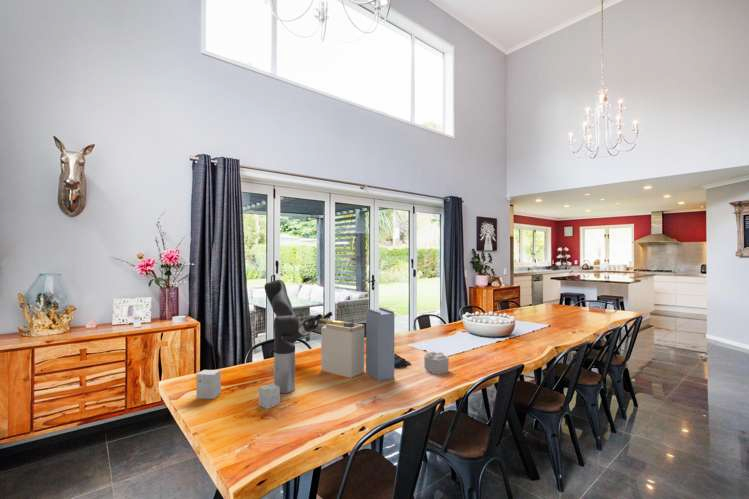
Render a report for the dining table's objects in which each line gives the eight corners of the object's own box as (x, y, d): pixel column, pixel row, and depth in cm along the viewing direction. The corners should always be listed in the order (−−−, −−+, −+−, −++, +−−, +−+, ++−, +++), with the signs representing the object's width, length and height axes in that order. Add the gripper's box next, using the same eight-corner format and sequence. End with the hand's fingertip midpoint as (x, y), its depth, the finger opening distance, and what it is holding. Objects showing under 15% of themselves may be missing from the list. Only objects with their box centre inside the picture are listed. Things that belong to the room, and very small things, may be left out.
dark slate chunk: (393, 355, 213) (393, 348, 213) (413, 366, 193) (413, 357, 193) (370, 359, 206) (370, 351, 206) (388, 370, 186) (388, 361, 186)
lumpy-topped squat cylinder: (437, 375, 179) (437, 358, 179) (419, 368, 189) (419, 352, 189) (451, 371, 185) (451, 354, 185) (433, 364, 195) (433, 349, 195)
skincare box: (271, 400, 147) (271, 382, 147) (280, 404, 144) (280, 386, 144) (258, 405, 143) (258, 387, 143) (267, 409, 139) (267, 390, 139)
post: (394, 378, 174) (394, 311, 174) (377, 381, 170) (378, 312, 170) (381, 369, 186) (381, 307, 187) (365, 372, 182) (366, 308, 183)
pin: (353, 328, 183) (353, 322, 183) (348, 330, 179) (348, 323, 179) (322, 323, 195) (322, 317, 195) (316, 325, 191) (317, 319, 191)
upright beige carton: (364, 371, 183) (364, 324, 183) (351, 378, 174) (351, 328, 174) (334, 364, 194) (335, 320, 194) (321, 370, 185) (321, 323, 185)
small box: (221, 394, 154) (221, 370, 154) (213, 399, 148) (214, 374, 148) (203, 393, 154) (203, 369, 154) (195, 398, 149) (196, 373, 149)
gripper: (296, 322, 193) (314, 309, 186) (314, 318, 205) (332, 306, 197) (300, 334, 191) (320, 322, 183) (318, 330, 203) (337, 318, 195)
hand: (326, 314), depth 190 cm, fingers open, 8 cm apart
